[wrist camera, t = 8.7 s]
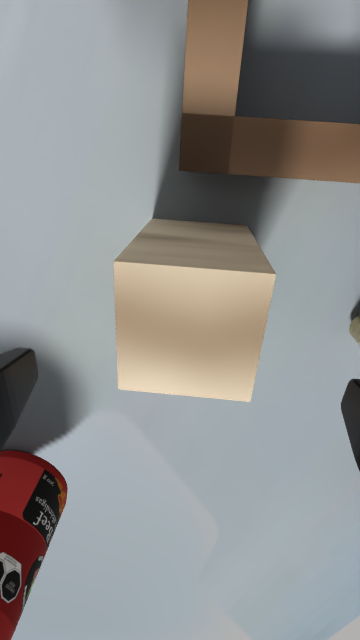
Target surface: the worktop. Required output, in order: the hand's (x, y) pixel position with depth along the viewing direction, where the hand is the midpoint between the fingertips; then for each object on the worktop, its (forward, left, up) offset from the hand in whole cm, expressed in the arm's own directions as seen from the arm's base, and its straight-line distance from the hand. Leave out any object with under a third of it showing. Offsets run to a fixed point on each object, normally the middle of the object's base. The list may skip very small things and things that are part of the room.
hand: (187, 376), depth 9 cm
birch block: (0, 0, -10) cm, 10 cm away
